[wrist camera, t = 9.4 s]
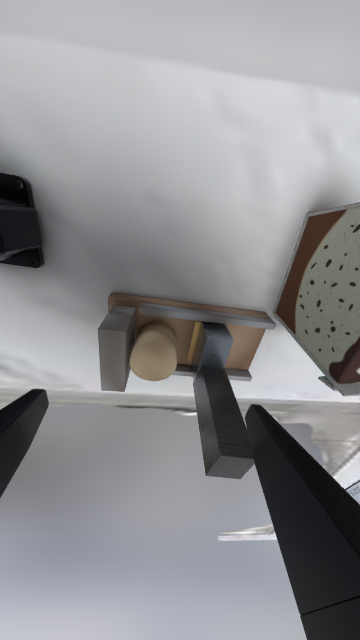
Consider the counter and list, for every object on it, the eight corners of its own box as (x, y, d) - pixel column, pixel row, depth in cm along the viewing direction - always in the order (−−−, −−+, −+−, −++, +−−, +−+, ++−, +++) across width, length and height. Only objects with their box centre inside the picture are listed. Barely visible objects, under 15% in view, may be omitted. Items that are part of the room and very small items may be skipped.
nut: (136, 351, 20) (128, 379, 17) (138, 318, 18) (130, 342, 15) (172, 354, 21) (173, 382, 17) (178, 323, 19) (180, 347, 15)
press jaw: (189, 364, 21) (204, 478, 12) (200, 320, 18) (229, 421, 9) (212, 366, 21) (245, 479, 12) (226, 323, 19) (280, 424, 10)
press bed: (112, 355, 22) (96, 395, 17) (111, 292, 18) (90, 320, 13) (242, 367, 24) (261, 406, 19) (265, 312, 20) (296, 342, 15)
